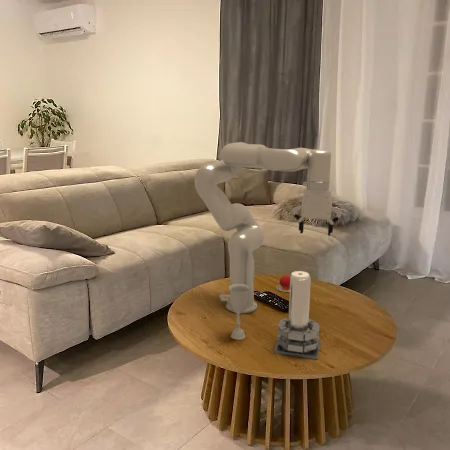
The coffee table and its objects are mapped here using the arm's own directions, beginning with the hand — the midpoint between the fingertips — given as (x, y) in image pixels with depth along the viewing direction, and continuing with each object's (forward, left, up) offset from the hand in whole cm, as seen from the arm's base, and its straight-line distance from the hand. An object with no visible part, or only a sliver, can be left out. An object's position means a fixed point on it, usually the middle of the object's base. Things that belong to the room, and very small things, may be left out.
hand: (315, 233), depth 166 cm
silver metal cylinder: (-2, -20, -34) cm, 39 cm away
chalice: (-23, -18, -34) cm, 45 cm away
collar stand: (-2, -20, -34) cm, 40 cm away
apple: (-14, +31, -35) cm, 49 cm away
